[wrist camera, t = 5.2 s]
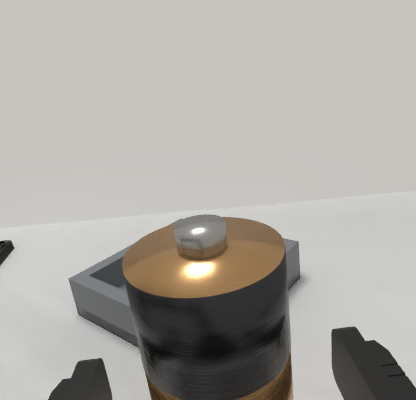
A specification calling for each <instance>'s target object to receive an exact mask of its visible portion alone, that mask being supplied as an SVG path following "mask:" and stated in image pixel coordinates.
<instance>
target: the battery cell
mask: <svg viewBox="0 0 416 400" xmlns="http://www.w3.org/2000/svg"><path fill="white" fill-rule="evenodd" d="M122 273H123V277H124V282H125V286H126V291H127V295H128V300H129V304H130V309H131V313H132V318H133V322H134V327H135V331H136V336H137V340H138V345H139V349H140V354H141V358H142V363H143V367H144V370H145V373H146V377H147V382H148V386H149V391H150V395H151V400H293V383H292V366H291V336H290V318H289V300H288V283H287V265H286V248H285V244H284V240H283V238H282V237H281V235H280V234H279V233H278V232H277V231H276V230H274V229H273V228H271V227H269V226H268V225H265V224H263V223H260V222H257V221H253V220H248V219H242V218H232V217H220V216H216V215H197V216H192V217H188V218H185V219H183V220H181V221H179V222H178V223H176V224H173V225H170V226H167V227H164V228H161V229H159V230H156V231H154V232H152V233H150V234H148V235H146V236H145V237H143V238H141V239H140V240H139V241H137V242H136V243H135V244H134V245H132V246H131V247H130V248H129V250H128V251H127V252H126V254H125V255H124V258H123V260H122Z"/></svg>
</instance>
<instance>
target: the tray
mask: <svg viewBox="0 0 416 400" xmlns="http://www.w3.org/2000/svg"><path fill="white" fill-rule="evenodd" d="M181 220H183V219H179V220H178V221H176V222H174V223H172V224H170V225H173V224H176V223H178V222H179V221H181ZM170 225H168V226H170ZM166 227H167V226H166ZM283 240H284V244H285V248H286V265H287V283H288V289H289V288H290V287H291V286H292V285H293V284H294V283H295V282H296V280H297V279H298V278H299V277H300V263H299V242H298V241H293V240H288V239H283ZM133 245H134V244H133ZM131 246H132V245H131ZM131 246H129V247H127V248H125V249H123V250H122V251H120V252H118V253H116V254H114V255H112V256H110V257H108V258H107V259H105V260H103V261H101V262H99V263H97V264H95V265H94V266H92V267H90V268H88V269H86V270H84V271H82V272H80V273H79V274H77V275H75V276H73V277H71V278H69V282H70V286H71V289H72V293H73V297H74V300H75V304H76V307H77V311H78V314H79V315H81V316H83V317H84V318H86V319H88V320H90V321H92V322H94V323H95V324H97V325H99V326H101V327H103V328H105V329H106V330H108V331H110V332H112V333H114V334H115V335H117V336H119V337H121V338H123V339H125V340H126V341H128V342H130V343H132V344H134V345H135V346H137V347H139V345H138V340H137V336H136V331H135V327H134V322H133V318H132V313H131V309H130V304H129V300H128V295H127V291H126V286H125V282H124V277H123V273H122V260H123V258H124V255H125V254H126V252H127V251H128V250H129V248H130V247H131Z"/></svg>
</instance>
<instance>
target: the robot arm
mask: <svg viewBox="0 0 416 400" xmlns="http://www.w3.org/2000/svg"><path fill="white" fill-rule="evenodd" d="M332 369H333V374H334V378H335V381H336V383H337V386H338V388H339V390H340V392H341V394H342V396H343V398H344V400H416V388H415V386H414V385H413V384H412V382H411V381H410V380H409V378H408V377H407V376H406V375H405V373H404V371H403V370H402V369H401V367H400V366H398V364H397V362H396V360H395V359H394V358H393V356H392V355H391V353H390V352H389V351H388V350H387V349H386V348H384V347H383V346H382V345H380V344H379V343H377V342H376V341H375V340H372V341H365V340H364V338H363V337H362V335H361V334H360V332H359V331H358V329H357V328H356V327H346V328H338V329H333V330H332ZM48 400H112V393H111V389H110V385H109V381H108V377H107V373H106V370H105V366H104V362H103V360H102V359H101V358H98V359H90V360H83V361H79V362H78V363H77V365H76V367H75V370H74V372H73V375H72V377H71V378H69V379H63V380H62V381H61V382H60V383H59V384H58V386H57V387H56V388H55V389H54V390H53V391H52V392H51V394H50V397H49V399H48Z"/></svg>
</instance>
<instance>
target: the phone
mask: <svg viewBox="0 0 416 400" xmlns="http://www.w3.org/2000/svg"><path fill="white" fill-rule="evenodd" d="M13 249H14V247H13V244H12V241H10V240H5V241H0V265H1V264H2V262H3V261H4V260H5V259H6V257H7V256H8V255H9V254H10V253H11V251H12V250H13Z"/></svg>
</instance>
